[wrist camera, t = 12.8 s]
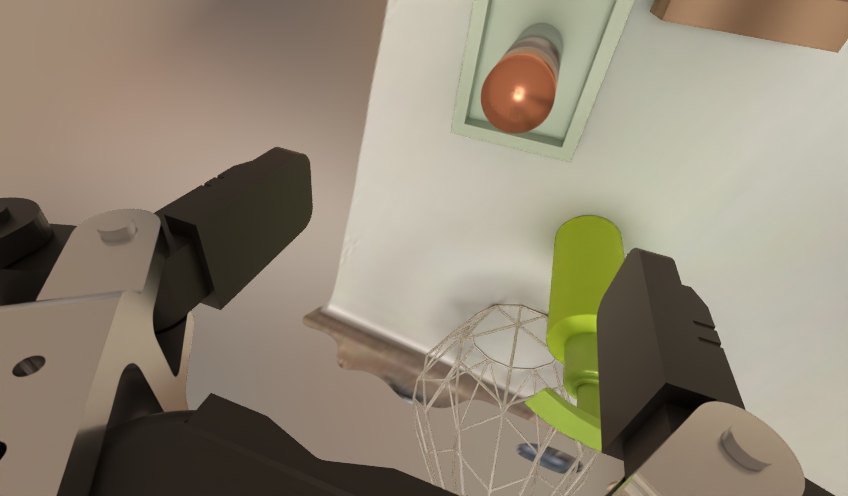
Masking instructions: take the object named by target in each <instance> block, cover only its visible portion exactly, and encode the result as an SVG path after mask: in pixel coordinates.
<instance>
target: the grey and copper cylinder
mask: <svg viewBox="0 0 848 496" xmlns="http://www.w3.org/2000/svg"><path fill="white" fill-rule="evenodd" d="M562 54H563V39H562V36H561V34H560V32H559V31H558V30H557V29H556V28H555V27H554V26H552V25H550V24H547V23H536V24H533V25H531V26H529V27H527V28H526V29H525V30H524V31H523V32H522V33H521V34H520V35H519V36H518V38H517V39H516V40H515V41H514V43H513V44H512V45H511V46H510V48H509V49H508V50H507V52H506V53H505V54H504V55H503V57H502V58H501V59H500V60H499V62H498V63H497V64H496V65H495V67H494V68H493V69H492V70H491V72H490V73H489V74H488V76H487V77H486V79H485V81H484V83H483V86H482V90H481V106H482V109H483V112H484V114H485V116H486V118H487V119H488V121H489V122H490V123H491V124H492V125H493V126H495V127H496V128H498V129H499V130H501V131H504V132H507V133H515V134H517V133H524V132H528V131H531V130H533V129H535V128H536V127H538V126H539V125H540V124H541V123H543V122H544V120H545V119H546V118H547V117H548V115H549V114H550V112H551V110H552V107H553V104H554V100H555V94H556V89H557V83H558V77H559V72H560V66H561V60H562Z"/></svg>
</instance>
